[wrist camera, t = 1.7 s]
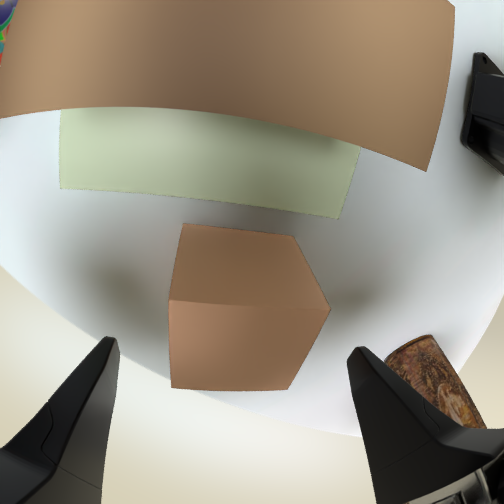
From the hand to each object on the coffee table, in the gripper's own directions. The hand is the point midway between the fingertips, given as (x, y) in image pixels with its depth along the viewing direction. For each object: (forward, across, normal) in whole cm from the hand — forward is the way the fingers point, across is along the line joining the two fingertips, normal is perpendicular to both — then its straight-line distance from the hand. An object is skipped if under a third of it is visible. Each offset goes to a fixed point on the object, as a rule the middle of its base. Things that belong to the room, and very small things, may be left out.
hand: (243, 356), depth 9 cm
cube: (+5, 0, 0) cm, 5 cm away
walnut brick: (+4, +2, -10) cm, 11 cm away
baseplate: (+5, +2, -10) cm, 11 cm away
